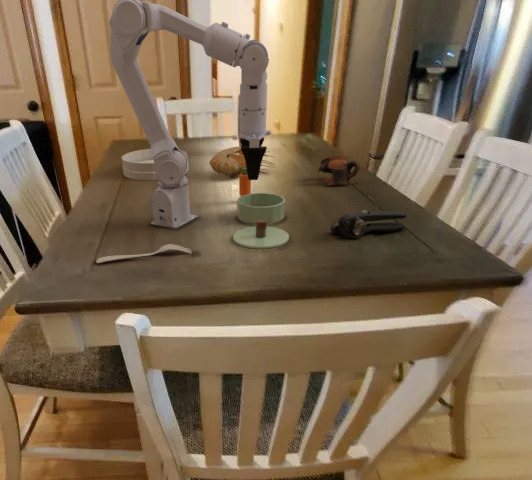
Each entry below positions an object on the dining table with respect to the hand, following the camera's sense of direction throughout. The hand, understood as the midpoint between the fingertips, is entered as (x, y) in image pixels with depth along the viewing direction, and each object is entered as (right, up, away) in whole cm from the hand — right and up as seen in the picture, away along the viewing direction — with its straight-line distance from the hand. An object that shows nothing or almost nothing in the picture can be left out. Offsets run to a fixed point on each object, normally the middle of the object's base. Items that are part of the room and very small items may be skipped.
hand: (252, 175), depth 108 cm
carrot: (-1, -1, +16) cm, 16 cm away
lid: (+1, -16, -5) cm, 17 cm away
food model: (+3, +36, +65) cm, 75 cm away
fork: (-23, -22, -10) cm, 34 cm away
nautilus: (0, +17, +40) cm, 44 cm away
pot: (+3, -8, +7) cm, 11 cm away
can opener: (+26, -15, -4) cm, 30 cm away
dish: (-28, +22, +48) cm, 60 cm away
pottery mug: (+28, +10, +30) cm, 42 cm away
